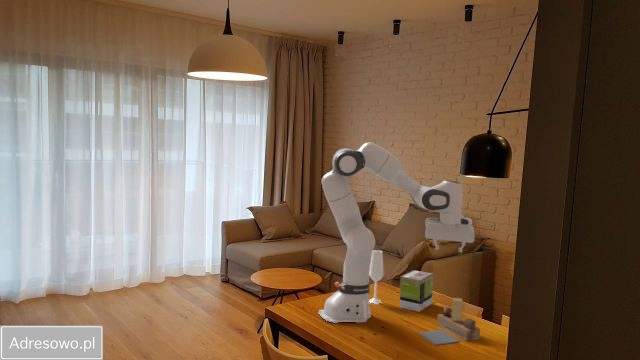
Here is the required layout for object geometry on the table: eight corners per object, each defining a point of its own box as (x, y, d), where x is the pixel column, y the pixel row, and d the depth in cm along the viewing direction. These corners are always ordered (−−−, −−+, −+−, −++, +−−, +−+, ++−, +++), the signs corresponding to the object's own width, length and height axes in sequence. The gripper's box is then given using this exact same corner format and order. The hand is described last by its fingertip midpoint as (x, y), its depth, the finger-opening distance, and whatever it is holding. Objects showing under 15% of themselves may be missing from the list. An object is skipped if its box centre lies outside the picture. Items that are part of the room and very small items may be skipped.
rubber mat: (435, 345, 169) (435, 344, 169) (418, 333, 179) (418, 332, 179) (459, 341, 173) (459, 340, 173) (441, 330, 183) (441, 329, 183)
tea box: (412, 299, 221) (414, 269, 221) (432, 304, 216) (434, 273, 215) (398, 307, 209) (400, 275, 208) (419, 312, 203) (421, 279, 203)
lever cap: (461, 322, 182) (462, 301, 181) (451, 321, 183) (452, 300, 182) (461, 319, 185) (462, 298, 185) (451, 318, 186) (453, 297, 186)
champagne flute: (364, 300, 217) (367, 250, 216) (376, 298, 220) (378, 249, 219) (373, 305, 211) (375, 253, 210) (385, 303, 215) (387, 252, 213)
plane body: (465, 341, 174) (466, 323, 173) (436, 323, 191) (437, 307, 190) (479, 339, 176) (480, 321, 176) (450, 322, 193) (450, 305, 193)
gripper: (424, 217, 195) (422, 249, 196) (475, 221, 189) (473, 254, 189) (426, 215, 201) (424, 247, 202) (475, 219, 195) (473, 252, 195)
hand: (448, 250), depth 196 cm, fingers open, 8 cm apart
